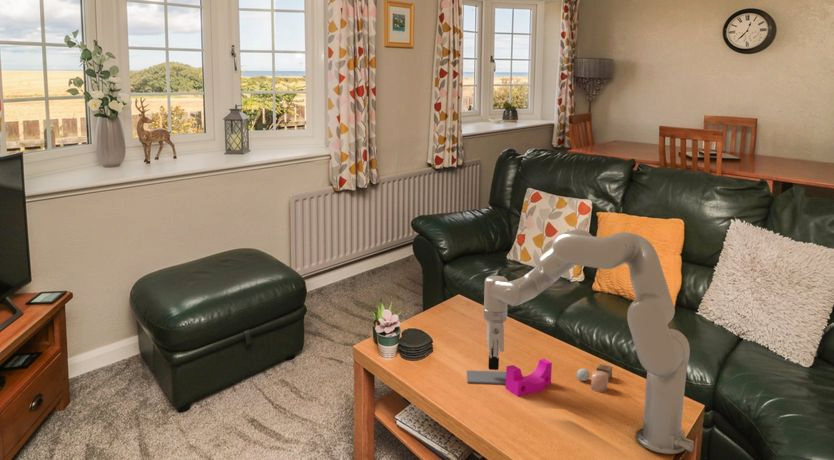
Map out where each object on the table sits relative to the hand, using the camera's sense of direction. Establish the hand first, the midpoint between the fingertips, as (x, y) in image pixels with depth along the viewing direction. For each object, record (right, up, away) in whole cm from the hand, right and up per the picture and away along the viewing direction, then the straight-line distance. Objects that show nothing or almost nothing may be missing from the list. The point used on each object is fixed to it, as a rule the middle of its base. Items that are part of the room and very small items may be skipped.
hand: (493, 368), depth 189 cm
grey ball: (+29, -4, 0) cm, 29 cm away
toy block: (+11, -5, -6) cm, 14 cm away
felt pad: (0, -3, 0) cm, 3 cm away
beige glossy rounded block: (+33, -5, -6) cm, 33 cm away
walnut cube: (+37, -4, +1) cm, 37 cm away
